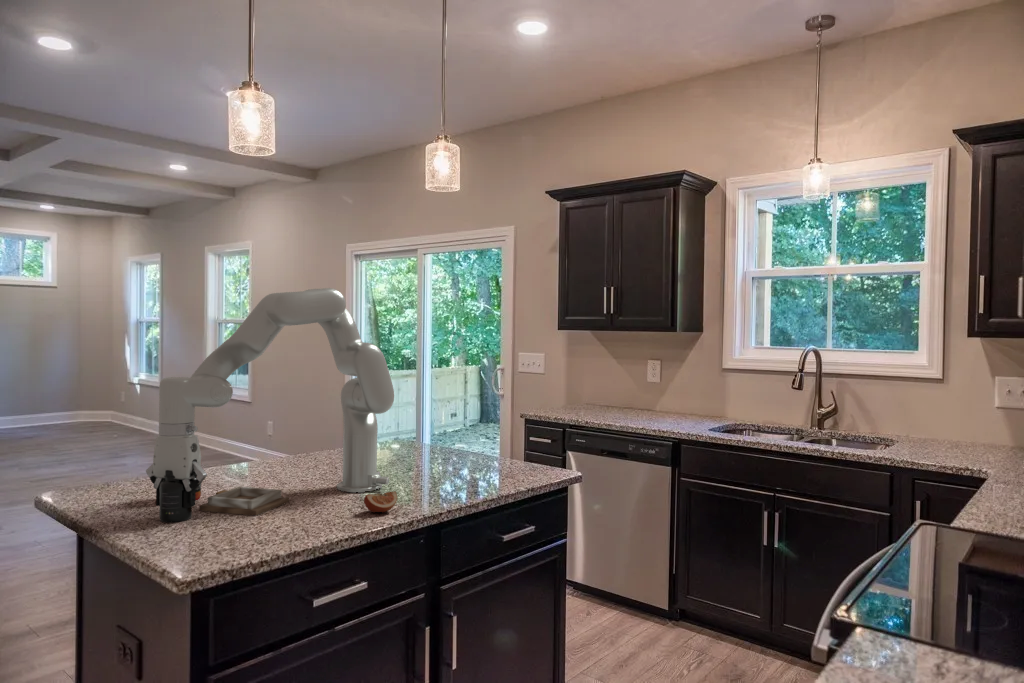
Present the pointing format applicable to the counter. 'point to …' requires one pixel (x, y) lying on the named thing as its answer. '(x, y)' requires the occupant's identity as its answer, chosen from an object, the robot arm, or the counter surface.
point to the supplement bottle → (172, 499)
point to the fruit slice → (380, 501)
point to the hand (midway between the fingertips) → (175, 505)
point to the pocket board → (244, 501)
